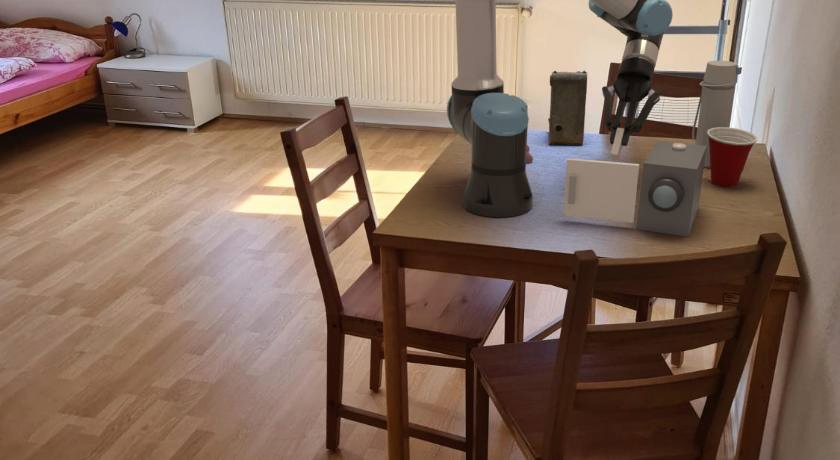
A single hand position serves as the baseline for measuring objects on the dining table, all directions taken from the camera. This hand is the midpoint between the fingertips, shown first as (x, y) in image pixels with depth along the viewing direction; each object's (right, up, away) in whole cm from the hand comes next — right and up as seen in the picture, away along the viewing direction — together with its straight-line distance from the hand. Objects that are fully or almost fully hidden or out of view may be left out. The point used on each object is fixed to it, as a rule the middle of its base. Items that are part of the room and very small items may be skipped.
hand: (614, 157), depth 168 cm
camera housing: (+9, -14, -8) cm, 18 cm away
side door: (-6, -13, -10) cm, 18 cm away
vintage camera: (-2, +10, +48) cm, 49 cm away
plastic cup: (+29, -5, +12) cm, 32 cm away
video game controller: (-16, +3, +32) cm, 36 cm away
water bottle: (+29, +1, +26) cm, 39 cm away
